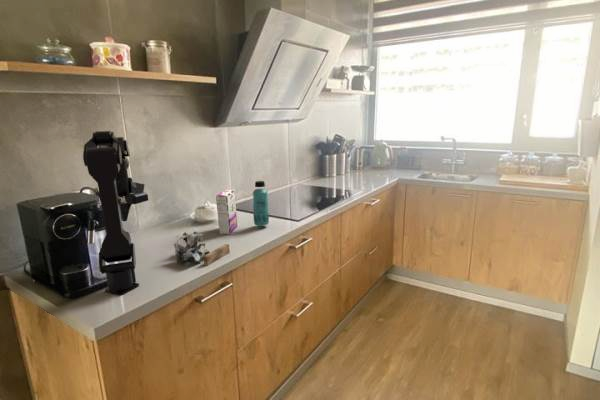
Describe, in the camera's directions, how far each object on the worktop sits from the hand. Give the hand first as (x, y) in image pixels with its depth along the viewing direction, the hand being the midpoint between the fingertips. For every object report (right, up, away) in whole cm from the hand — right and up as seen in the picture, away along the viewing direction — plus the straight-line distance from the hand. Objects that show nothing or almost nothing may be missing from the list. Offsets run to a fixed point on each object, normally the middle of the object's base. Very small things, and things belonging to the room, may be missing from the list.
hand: (124, 221), depth 122 cm
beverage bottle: (+43, -5, +33) cm, 54 cm away
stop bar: (+32, -13, 0) cm, 34 cm away
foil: (+23, -13, +1) cm, 26 cm away
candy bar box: (+29, -6, +30) cm, 42 cm away
